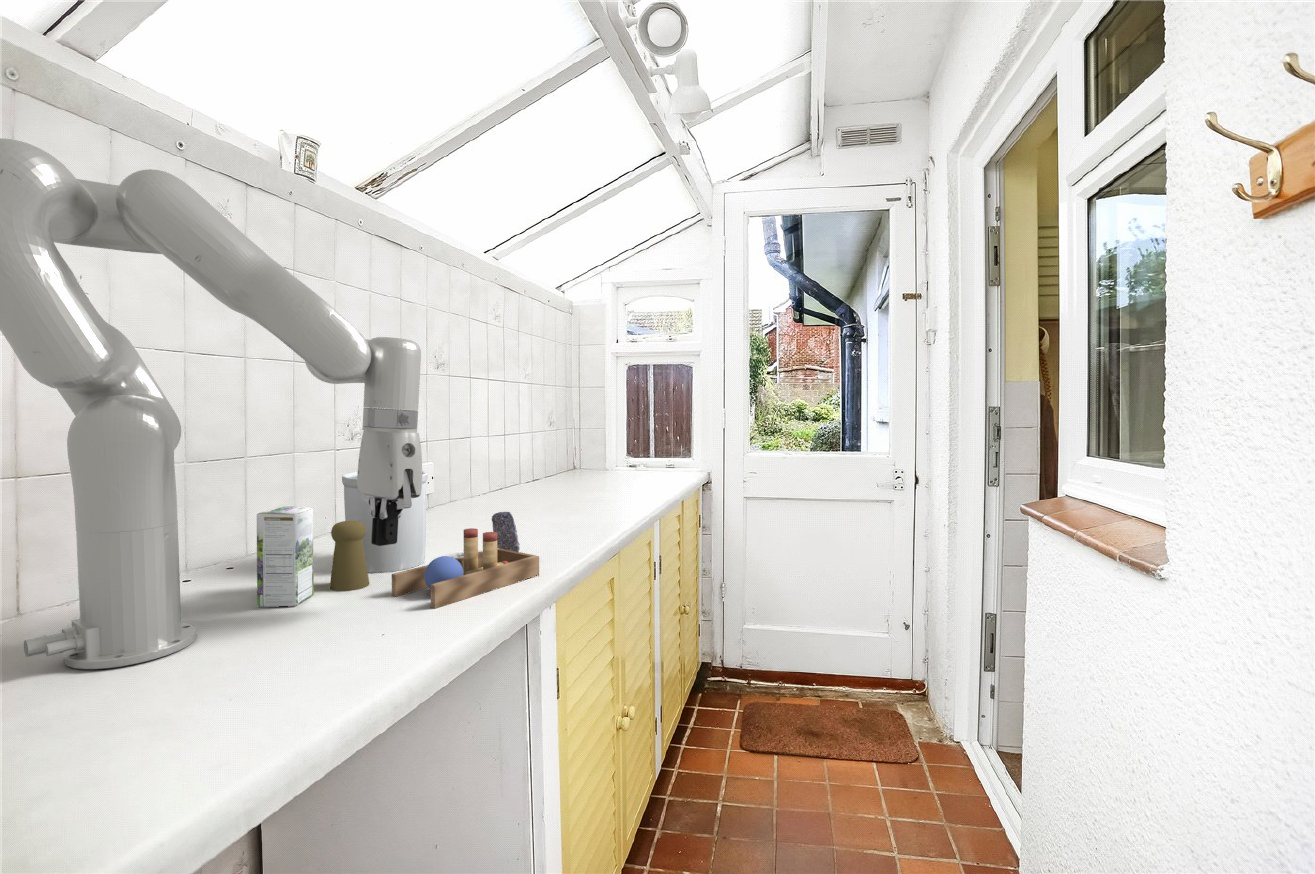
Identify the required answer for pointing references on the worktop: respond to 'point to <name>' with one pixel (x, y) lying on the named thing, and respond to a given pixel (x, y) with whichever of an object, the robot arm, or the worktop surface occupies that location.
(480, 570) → the pin front
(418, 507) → the utensil holder
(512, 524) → the rock
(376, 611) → the worktop surface
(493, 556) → the pin
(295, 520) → the syrup box
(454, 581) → the lane
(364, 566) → the cork
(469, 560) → the pin
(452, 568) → the ball
